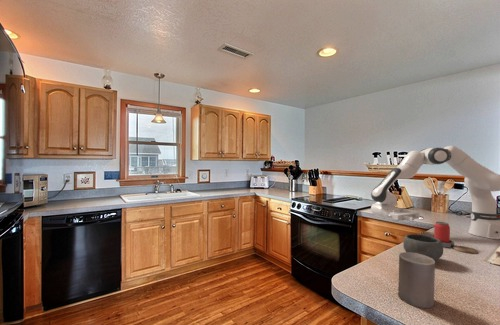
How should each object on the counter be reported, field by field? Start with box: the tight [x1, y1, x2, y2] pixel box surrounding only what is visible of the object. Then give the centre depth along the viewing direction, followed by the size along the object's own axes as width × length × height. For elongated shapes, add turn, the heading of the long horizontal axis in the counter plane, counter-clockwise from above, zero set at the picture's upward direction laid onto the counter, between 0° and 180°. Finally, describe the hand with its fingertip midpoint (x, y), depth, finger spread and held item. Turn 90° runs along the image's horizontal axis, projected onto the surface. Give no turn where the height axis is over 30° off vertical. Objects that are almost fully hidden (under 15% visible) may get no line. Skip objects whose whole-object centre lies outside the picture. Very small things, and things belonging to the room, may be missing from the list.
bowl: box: [402, 233, 444, 262], centre depth 111 cm, size 15×15×10 cm
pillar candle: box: [397, 251, 436, 309], centre depth 78 cm, size 10×10×15 cm
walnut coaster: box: [452, 245, 478, 255], centre depth 123 cm, size 9×9×1 cm
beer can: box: [433, 221, 451, 243], centre depth 131 cm, size 7×7×12 cm
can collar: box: [432, 236, 455, 249], centre depth 131 cm, size 10×10×2 cm
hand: (418, 218), depth 142 cm, fingers open, 8 cm apart
